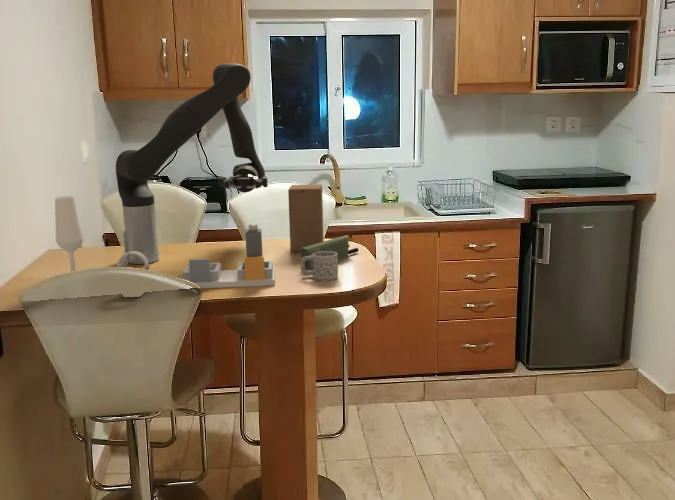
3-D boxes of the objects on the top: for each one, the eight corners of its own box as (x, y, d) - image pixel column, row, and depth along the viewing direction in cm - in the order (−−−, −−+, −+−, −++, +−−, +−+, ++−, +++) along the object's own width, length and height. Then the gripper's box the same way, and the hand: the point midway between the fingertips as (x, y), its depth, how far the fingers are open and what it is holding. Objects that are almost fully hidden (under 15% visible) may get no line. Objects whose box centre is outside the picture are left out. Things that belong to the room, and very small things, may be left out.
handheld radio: (299, 270, 191) (352, 252, 210) (308, 272, 189) (361, 254, 208) (299, 247, 189) (352, 231, 208) (308, 249, 187) (361, 233, 206)
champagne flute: (76, 292, 172) (66, 199, 167) (55, 290, 175) (44, 198, 169) (94, 285, 178) (84, 195, 173) (74, 283, 181) (63, 195, 175)
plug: (247, 276, 178) (245, 226, 175) (248, 272, 182) (245, 223, 179) (262, 276, 179) (260, 226, 176) (263, 272, 183) (261, 223, 179)
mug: (340, 275, 184) (339, 251, 183) (334, 281, 178) (334, 257, 176) (305, 273, 186) (304, 250, 185) (298, 280, 180) (297, 255, 179)
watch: (123, 291, 173) (119, 249, 170) (154, 291, 172) (150, 249, 170) (115, 297, 168) (110, 254, 165) (146, 297, 167) (142, 254, 164)
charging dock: (181, 289, 174) (178, 260, 172) (187, 276, 185) (185, 250, 184) (274, 285, 175) (273, 257, 174) (275, 273, 187) (274, 246, 185)
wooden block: (322, 252, 211) (320, 188, 206) (290, 252, 211) (288, 189, 207) (323, 245, 221) (322, 184, 216) (293, 245, 221) (291, 184, 216)
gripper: (222, 166, 208) (216, 171, 193) (268, 166, 209) (266, 171, 194) (222, 190, 210) (217, 198, 194) (268, 190, 211) (267, 197, 195)
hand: (242, 184), depth 194 cm, fingers open, 8 cm apart
